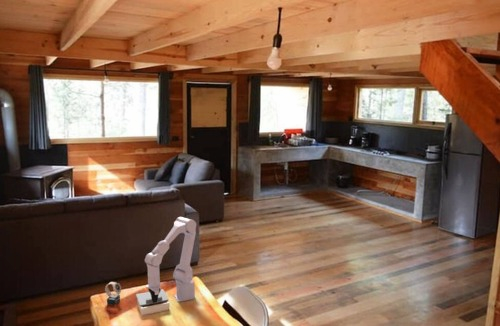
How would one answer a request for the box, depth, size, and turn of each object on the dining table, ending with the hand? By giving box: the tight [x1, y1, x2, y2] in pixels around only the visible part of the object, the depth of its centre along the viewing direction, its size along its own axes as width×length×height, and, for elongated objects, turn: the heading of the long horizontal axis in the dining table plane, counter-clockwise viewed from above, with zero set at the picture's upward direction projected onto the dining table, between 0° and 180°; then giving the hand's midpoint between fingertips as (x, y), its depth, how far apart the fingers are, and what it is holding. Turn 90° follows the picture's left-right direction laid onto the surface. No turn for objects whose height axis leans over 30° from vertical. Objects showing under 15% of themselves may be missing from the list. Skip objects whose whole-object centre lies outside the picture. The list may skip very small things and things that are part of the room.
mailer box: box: [137, 299, 170, 317], centre depth 212 cm, size 14×12×4 cm
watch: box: [104, 281, 122, 306], centre depth 217 cm, size 6×8×11 cm
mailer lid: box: [135, 288, 169, 306], centre depth 214 cm, size 14×12×2 cm
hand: (154, 301), depth 208 cm, fingers closed
